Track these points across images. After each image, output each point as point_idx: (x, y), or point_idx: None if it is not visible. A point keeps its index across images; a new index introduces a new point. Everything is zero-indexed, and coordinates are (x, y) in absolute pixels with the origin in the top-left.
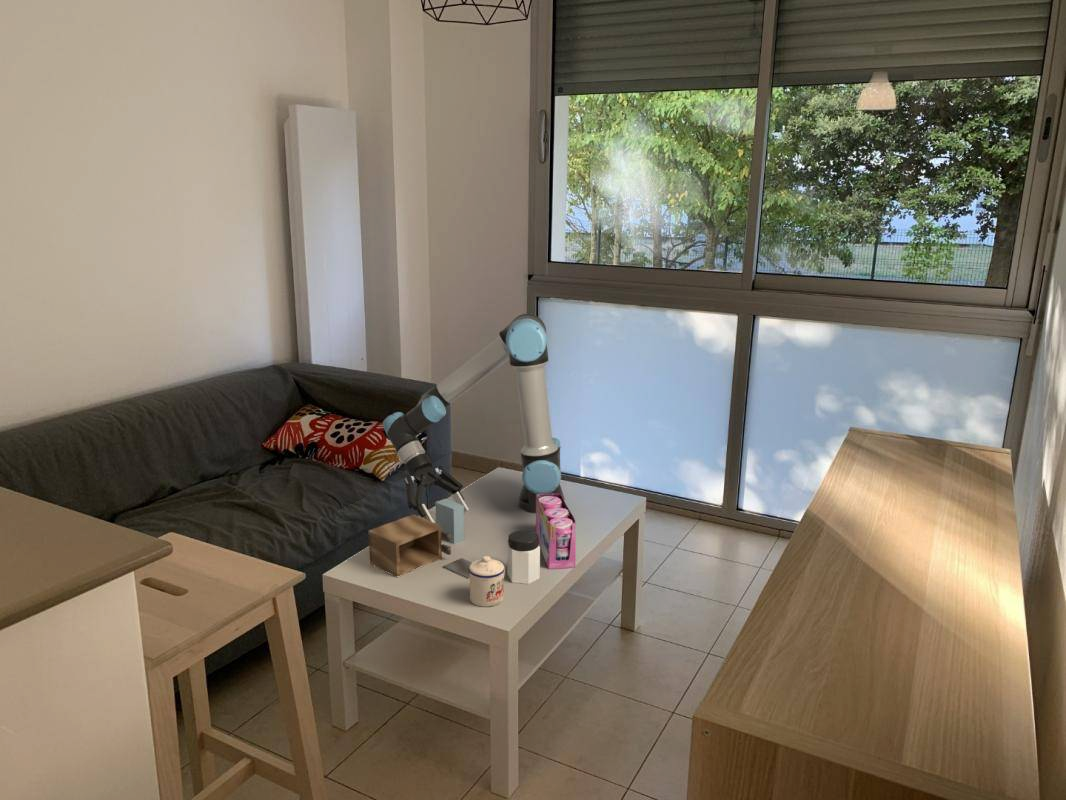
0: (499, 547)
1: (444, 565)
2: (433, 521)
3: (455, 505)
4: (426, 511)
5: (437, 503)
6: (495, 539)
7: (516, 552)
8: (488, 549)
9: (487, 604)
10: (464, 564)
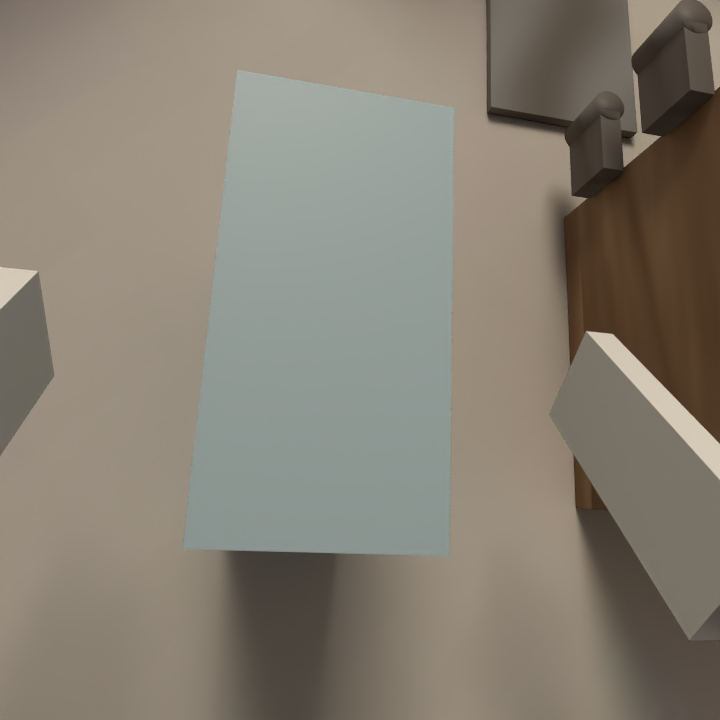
0: (188, 10)
1: (628, 129)
2: (601, 339)
3: (326, 171)
4: (707, 435)
5: (444, 496)
6: (86, 98)
7: None
8: (263, 53)
9: None
10: (539, 44)
